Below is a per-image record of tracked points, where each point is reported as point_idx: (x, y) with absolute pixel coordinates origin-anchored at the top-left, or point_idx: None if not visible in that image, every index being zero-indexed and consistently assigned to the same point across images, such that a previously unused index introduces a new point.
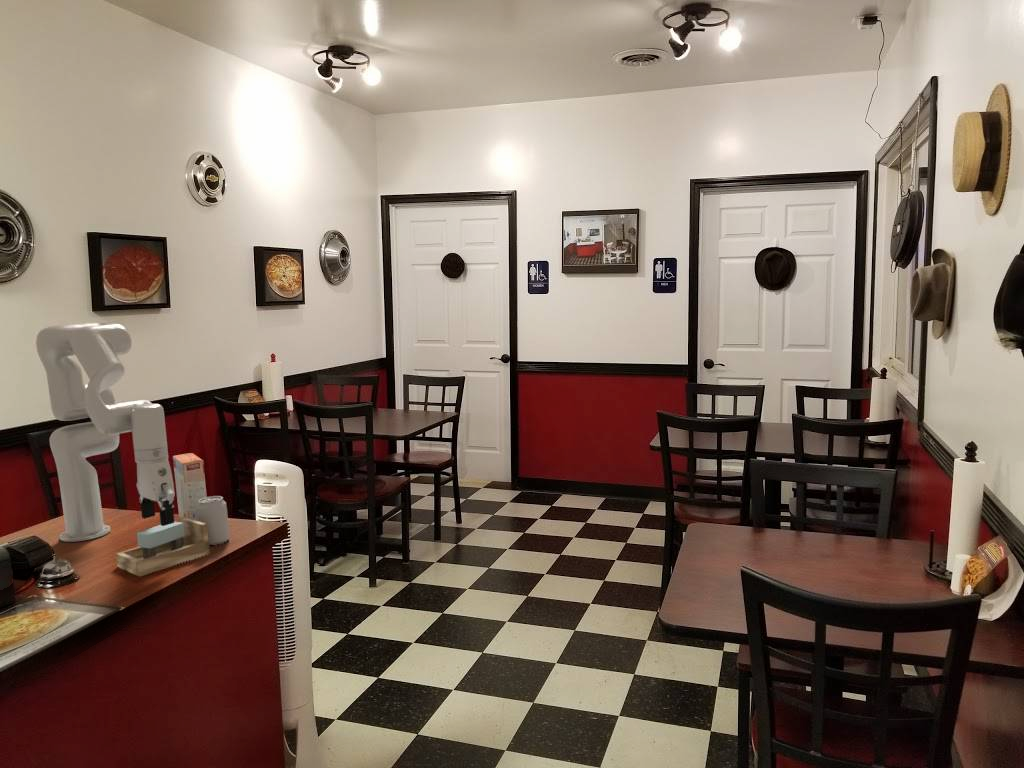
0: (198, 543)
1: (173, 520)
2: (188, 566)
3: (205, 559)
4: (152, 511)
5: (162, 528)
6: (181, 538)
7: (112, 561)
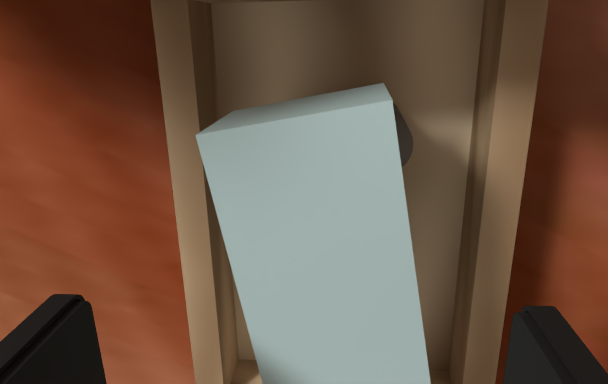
0: (531, 36)
1: (560, 325)
2: (589, 172)
3: (584, 39)
4: (61, 356)
5: (375, 313)
6: (407, 127)
7: (113, 337)
